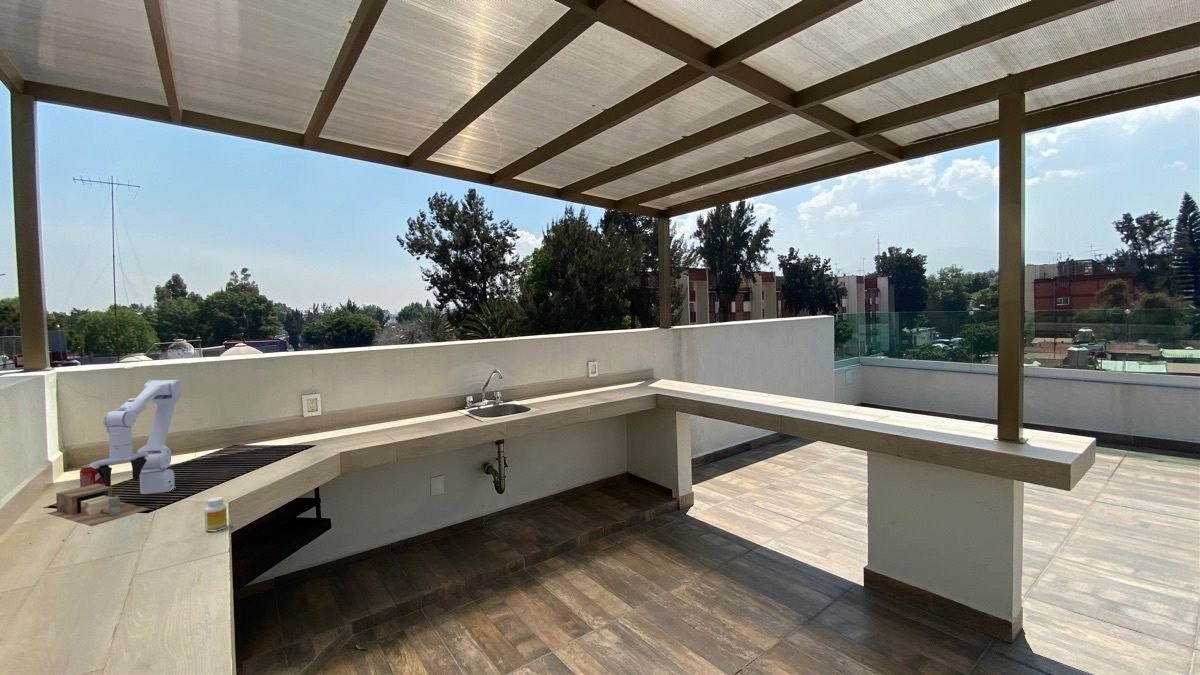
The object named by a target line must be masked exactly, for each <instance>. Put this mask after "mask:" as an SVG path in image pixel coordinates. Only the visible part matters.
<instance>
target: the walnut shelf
mask: <svg viewBox="0 0 1200 675" xmlns="http://www.w3.org/2000/svg"><path fill="white" fill-rule="evenodd" d="M55 496H56V497H55V498H56V499H55V500H56V510H54V511H50V512H47V513H46V514H47V515H50V516H54V517H56V518H61V519H65V520H69V521H72V522H75V523H79V524H82V525H86V526H90V527H94V526H98V525H101V524H105V523H108V522H112V521H115V520H118V519H122V518H125V517H129V516H132V515H136V514H138V513H142V512H146V511H148V510H150V508H147V507H142V506H138V505H135V504H130V503H127V502H122V501H120V515H117V516H114V517H111V516H109V514H106V513H98V514H95V515H87V514H83V513H81V501H85V500H88V499H92V498H96V497H100V496H109V497H114V496H113V486H112V485H111V486H110V487H106V486H105V485H102V484H97V483H96V484H92V485H88V486H84V487H80V486H79V487H76V488H72V489H68V490H63V491H59V492H56V494H55Z"/></svg>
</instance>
